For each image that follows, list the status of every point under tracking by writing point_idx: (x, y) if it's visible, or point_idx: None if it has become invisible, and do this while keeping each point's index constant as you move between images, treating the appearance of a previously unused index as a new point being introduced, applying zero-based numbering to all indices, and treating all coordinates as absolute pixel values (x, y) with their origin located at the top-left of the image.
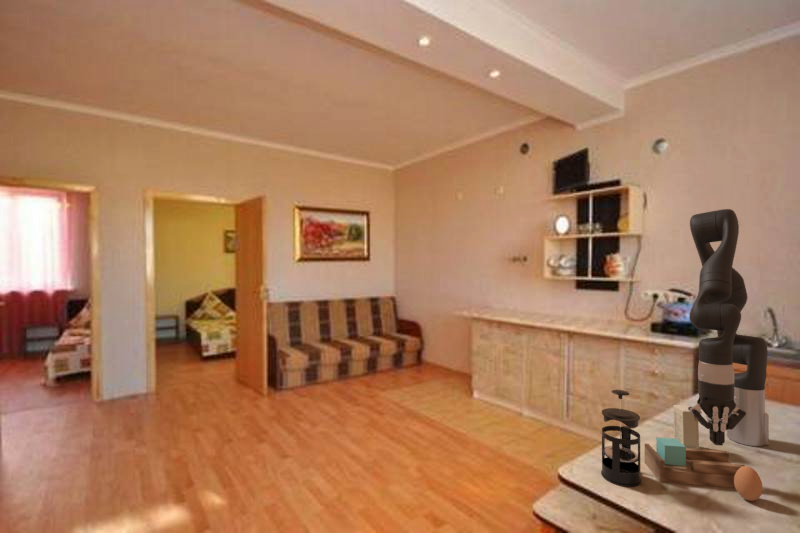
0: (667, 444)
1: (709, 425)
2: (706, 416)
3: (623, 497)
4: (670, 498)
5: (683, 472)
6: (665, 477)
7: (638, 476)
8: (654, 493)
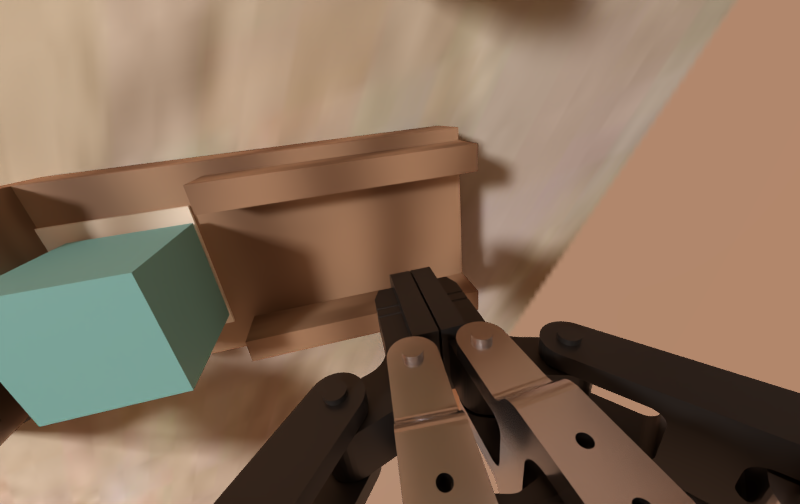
0: (59, 403)
1: (370, 477)
2: (397, 453)
3: (6, 485)
4: (172, 427)
5: (215, 351)
6: None
7: (16, 426)
8: (116, 422)
